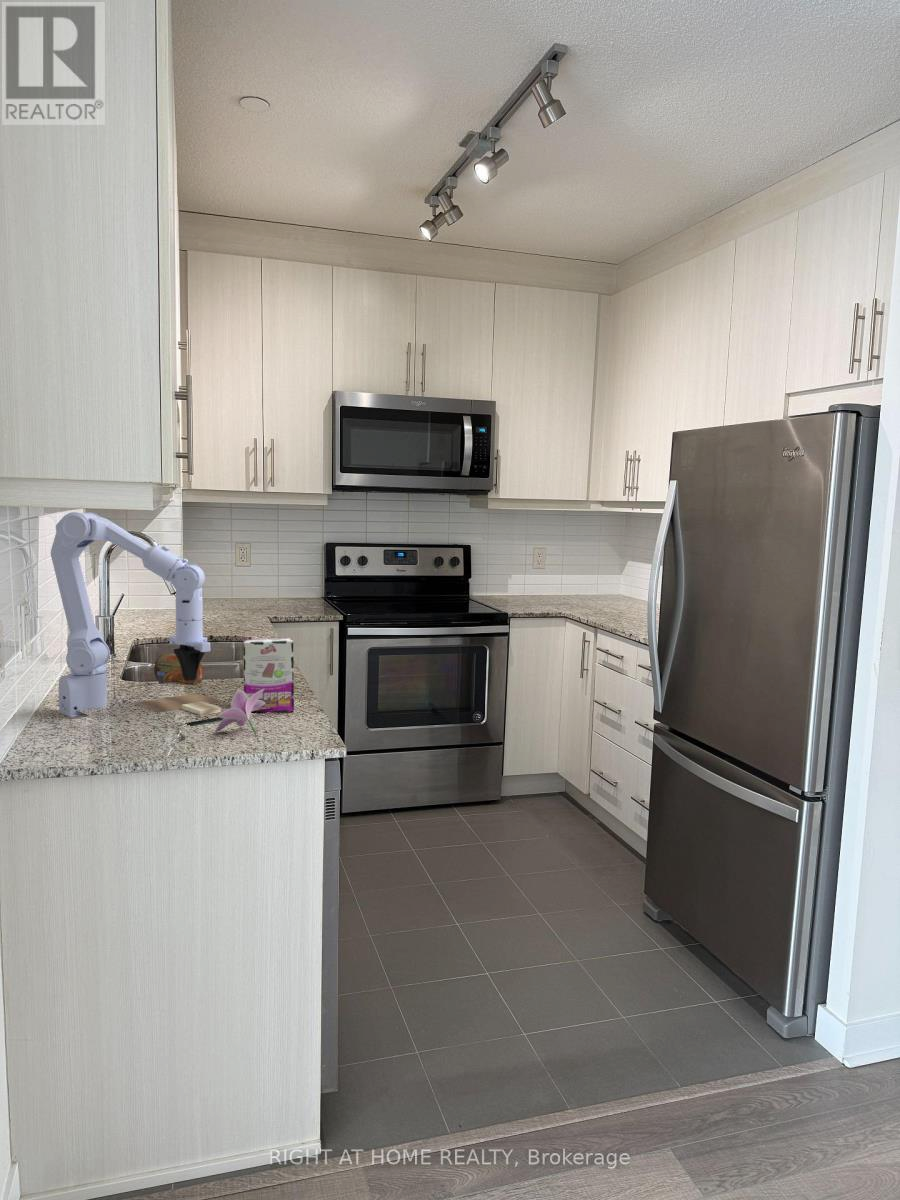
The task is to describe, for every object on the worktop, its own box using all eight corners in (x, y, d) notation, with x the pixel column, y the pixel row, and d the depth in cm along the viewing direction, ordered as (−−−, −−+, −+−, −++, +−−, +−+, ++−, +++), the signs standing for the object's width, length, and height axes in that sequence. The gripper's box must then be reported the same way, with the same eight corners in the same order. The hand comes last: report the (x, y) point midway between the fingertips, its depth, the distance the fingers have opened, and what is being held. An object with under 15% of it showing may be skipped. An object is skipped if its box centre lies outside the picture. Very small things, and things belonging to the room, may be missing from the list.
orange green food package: (153, 684, 216) (152, 652, 215) (162, 682, 219) (162, 650, 218) (196, 691, 209) (196, 658, 208) (205, 689, 212) (205, 656, 211)
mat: (193, 727, 174) (193, 725, 174) (167, 717, 181) (167, 716, 181) (243, 718, 183) (243, 716, 183) (216, 709, 190) (216, 707, 190)
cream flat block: (200, 720, 178) (200, 711, 178) (181, 713, 184) (181, 704, 184) (221, 716, 182) (221, 707, 182) (202, 710, 187) (202, 701, 187)
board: (158, 719, 180) (158, 712, 180) (132, 709, 188) (132, 702, 188) (224, 707, 192) (223, 701, 192) (197, 699, 200) (197, 693, 200)
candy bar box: (292, 707, 194) (292, 637, 192) (294, 712, 189) (294, 640, 187) (242, 709, 191) (242, 638, 189) (243, 714, 186) (243, 641, 184)
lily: (275, 730, 177) (256, 689, 179) (286, 721, 167) (266, 677, 168) (221, 754, 172) (203, 711, 173) (229, 746, 162) (209, 701, 163)
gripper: (222, 621, 182) (223, 682, 184) (189, 614, 192) (189, 672, 194) (193, 623, 177) (193, 686, 179) (160, 617, 187) (161, 676, 189)
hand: (189, 679), depth 186 cm, fingers closed
